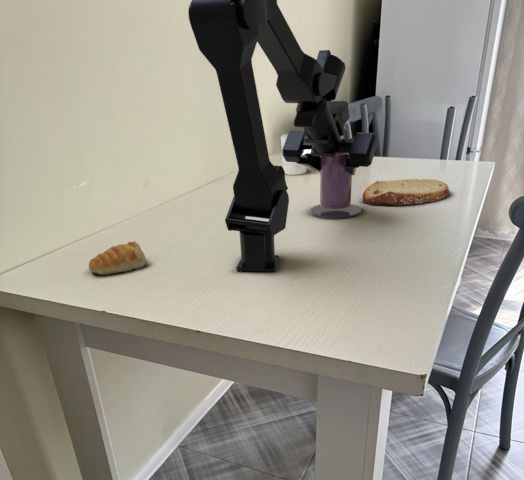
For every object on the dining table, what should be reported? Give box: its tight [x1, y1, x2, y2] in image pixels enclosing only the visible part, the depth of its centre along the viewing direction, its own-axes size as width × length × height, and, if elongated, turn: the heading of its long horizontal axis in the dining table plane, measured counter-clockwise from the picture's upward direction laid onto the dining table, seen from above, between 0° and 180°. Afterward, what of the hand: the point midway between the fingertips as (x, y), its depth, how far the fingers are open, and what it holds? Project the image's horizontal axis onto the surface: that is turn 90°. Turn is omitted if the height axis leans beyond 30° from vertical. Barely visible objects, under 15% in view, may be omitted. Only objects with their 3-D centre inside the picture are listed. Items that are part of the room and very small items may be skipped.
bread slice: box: [362, 178, 450, 207], centre depth 119 cm, size 18×18×4 cm
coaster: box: [310, 203, 362, 220], centre depth 112 cm, size 11×11×1 cm
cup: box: [319, 152, 353, 209], centre depth 109 cm, size 7×7×11 cm
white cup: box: [280, 133, 308, 176], centre depth 145 cm, size 8×8×10 cm
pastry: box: [88, 240, 147, 276], centre depth 88 cm, size 9×7×4 cm
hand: (338, 172), depth 109 cm, fingers closed on cup, 7 cm apart
